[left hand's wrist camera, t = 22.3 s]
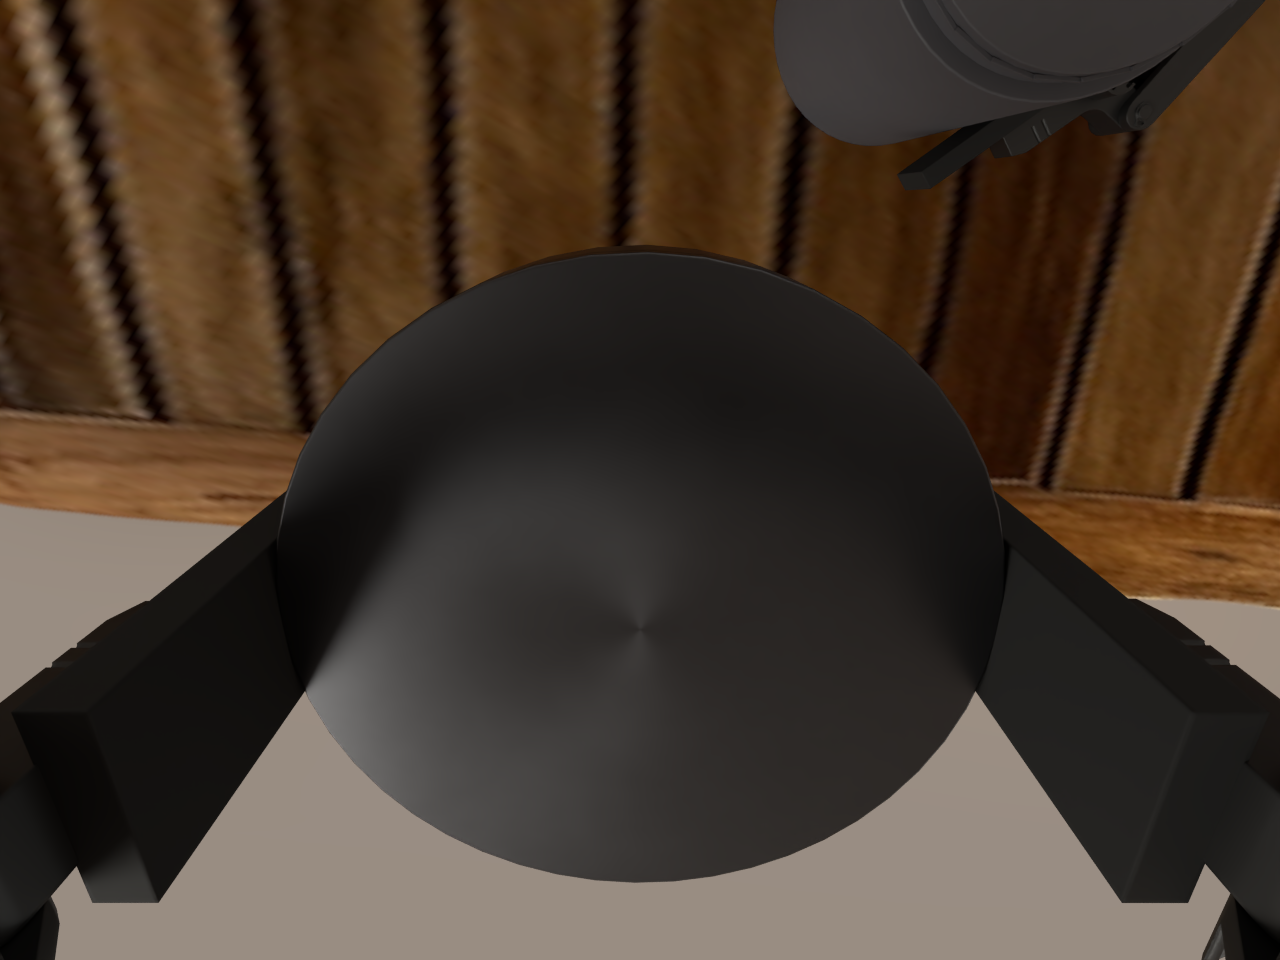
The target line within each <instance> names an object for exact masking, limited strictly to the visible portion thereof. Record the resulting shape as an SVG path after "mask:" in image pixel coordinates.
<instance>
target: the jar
mask: <svg viewBox="0 0 1280 960" xmlns="http://www.w3.org/2000/svg"><path fill="white" fill-rule="evenodd" d="M1236 1H1237V0H777V2H776V8H775V16H774V45H775V53H776V58H777V64H778V67H779V71H780V74H781V77H782V80H783V82H784V85H785V87H786V89H787V91H788V93H789V95H790V97H791V98H792V100H793V102H794V103H795V105H796V106H797V108H798V109H799V110H800V111H801V112H802V114H803V115H804V116H805V117H806V118H807V119H808V120H809V121H810V122H811V123H812V124H814V125H815V126H816V127H817V128H819V129H820V130H822V131H823V132H825V133H826V134H828V135H830V136H832V137H834V138H836V139H839V140H841V141H845V142H848V143H852V144H858V145H865V146H880V145H887V144H893V143H898V142H902V141H906V140H910V139H914V138H919V137H923V136H927V135H931V134H935V133H940V132H944V131H948V130H952V129H956V128H961V127H965V126H969V125H973V124H977V123H982V122H986V121H990V120H994V119H998V118H1003V117H1007V116H1011V115H1015V114H1019V113H1024V112H1028V111H1032V110H1036V109H1040V108H1045V107H1049V106H1053V105H1057V104H1061V103H1066V102H1070V101H1074V100H1078V99H1082V98H1085V97H1089V96H1092V95H1095V94H1099V93H1102V92H1105V91H1108V90H1110V89H1112V88H1114V87H1117V86H1119V85H1121V84H1124V83H1126V82H1128V81H1130V80H1132V79H1134V78H1135V77H1137V76H1139V75H1140V74H1142V73H1144V72H1146V71H1147V70H1149V69H1151V68H1152V67H1154V66H1155V65H1157V64H1158V63H1160V62H1161V61H1162V60H1164V59H1165V58H1166V57H1168V56H1169V55H1170V54H1172V53H1173V52H1174V51H1176V50H1177V49H1178V48H1179V47H1181V46H1184V45H1185V44H1186V43H1187V42H1189V41H1190V40H1191V39H1192V38H1193V37H1195V36H1196V35H1197V34H1198V33H1199V32H1201V31H1202V30H1203V29H1204V28H1205V27H1207V26H1208V25H1209V24H1210V23H1211V22H1212V21H1214V20H1215V19H1216V18H1217V17H1218V16H1220V15H1221V14H1222V13H1223V12H1224V11H1226V10H1227V9H1228V8H1230V7H1232V6H1233V5H1234V4H1235V3H1236Z"/></svg>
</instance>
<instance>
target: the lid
mask: <svg viewBox="0 0 1280 960" xmlns="http://www.w3.org/2000/svg"><path fill="white" fill-rule="evenodd" d="M1004 566H1005V550H1004V543H1003V536H1002V528H1001V521H1000V514H999V507H998V504H997V501H996V498H995V494H994V491H993V488H992V484H991V481H990V478H989V474H988V471H987V468H986V465H985V463H984V461H983V459H982V457H981V455H980V453H979V451H978V448H977V446H976V444H975V442H974V440H973V438H972V436H971V434H970V432H969V430H968V428H967V426H966V424H965V422H964V421H963V420H962V418H961V417H960V415H959V414H958V412H957V411H956V410H955V408H954V407H953V405H952V404H951V402H950V401H949V400H948V398H947V397H946V395H945V394H944V392H943V391H942V389H941V388H940V387H939V385H938V384H937V383H936V382H935V381H934V380H933V379H932V378H931V377H930V376H929V375H928V373H927V372H926V371H925V370H924V369H923V368H922V367H921V366H920V365H919V364H918V363H917V362H916V361H915V360H914V359H913V358H912V357H911V356H910V355H909V354H908V353H907V352H906V350H905V349H904V348H902V347H901V346H900V345H899V344H897V343H896V342H895V341H893V340H892V339H891V338H889V337H888V336H887V335H886V334H884V333H883V332H882V331H880V330H879V329H878V328H876V327H875V326H874V325H873V324H871V323H870V322H869V321H867V320H866V319H865V318H864V317H862V316H861V315H859V314H857V313H855V312H853V311H852V310H850V309H848V308H846V307H845V306H843V305H841V304H839V303H837V302H836V301H834V300H832V299H830V298H828V297H827V296H825V295H823V294H821V293H820V292H818V291H816V290H814V289H812V288H810V287H808V286H806V285H804V284H802V283H799V282H797V281H795V280H793V279H791V278H789V277H786V276H784V275H781V274H779V273H776V272H773V271H771V270H768V269H766V268H763V267H760V266H758V265H755V264H753V263H750V262H747V261H745V260H741V259H736V258H732V257H728V256H723V255H719V254H715V253H710V252H706V251H702V250H697V249H688V248H677V247H665V246H654V245H635V246H615V247H597V248H592V249H587V250H581V251H576V252H571V253H566V254H560V255H555V256H550V257H547V258H544V259H541V260H538V261H535V262H532V263H529V264H526V265H523V266H520V267H517V268H514V269H512V270H509V271H506V272H503V273H501V274H499V275H497V276H495V277H492V278H490V279H488V280H486V281H484V282H482V283H480V284H478V285H476V286H474V287H472V288H470V289H468V290H466V291H464V292H462V293H460V294H458V295H456V296H454V297H452V298H450V299H449V300H447V301H445V302H443V303H441V304H439V305H437V306H435V307H433V308H431V309H430V310H428V311H427V312H425V313H424V314H423V315H421V316H420V317H418V318H417V319H415V320H414V321H413V322H411V323H410V324H408V325H407V326H406V327H404V328H403V329H401V330H400V331H399V332H397V333H396V334H394V335H393V336H391V337H390V338H389V339H387V340H386V341H385V342H384V343H383V344H382V345H381V346H380V347H379V348H378V349H377V350H376V351H375V352H374V353H373V354H372V355H371V356H370V357H369V358H368V359H367V360H366V361H365V362H364V363H363V364H361V365H360V366H359V367H358V368H357V369H356V370H355V371H354V372H353V373H352V374H351V375H350V377H349V378H348V379H347V381H346V382H345V383H344V385H343V386H342V387H341V389H340V390H339V391H338V392H337V394H336V395H335V396H334V398H333V399H332V400H331V402H330V403H329V404H328V406H327V407H326V408H325V410H324V411H323V412H322V414H321V415H320V417H319V419H318V421H317V423H316V425H315V427H314V428H313V430H312V432H311V434H310V436H309V438H308V440H307V441H306V443H305V445H304V447H303V449H302V451H301V453H300V454H299V457H298V460H297V463H296V466H295V469H294V472H293V474H292V477H291V480H290V483H289V486H288V489H287V492H286V495H285V498H284V504H283V509H282V515H281V520H280V526H279V531H278V537H277V558H276V587H277V594H278V602H279V609H280V614H281V619H282V624H283V628H284V632H285V636H286V640H287V644H288V648H289V652H290V655H291V659H292V662H293V665H294V667H295V669H296V671H297V674H298V676H299V678H300V680H301V683H302V685H303V687H304V689H305V692H306V694H307V696H308V698H309V700H310V702H311V703H312V705H313V707H314V708H315V710H316V711H317V713H318V715H319V716H320V718H321V719H322V721H323V723H324V724H325V726H326V728H327V729H328V731H329V732H330V734H331V735H332V736H333V737H334V739H335V740H336V741H337V742H338V744H339V745H340V746H341V747H342V748H343V750H344V751H345V752H346V753H347V755H348V756H349V757H350V758H351V760H352V761H353V762H354V763H355V764H356V765H357V766H358V767H359V768H360V769H361V770H362V771H363V772H364V773H365V774H366V775H367V776H368V777H369V778H370V779H371V780H372V781H373V782H374V783H375V784H376V785H377V786H379V787H380V788H381V789H382V790H383V791H384V792H385V793H387V794H388V795H389V796H390V797H392V798H393V799H394V800H396V801H397V802H398V803H400V804H401V805H402V806H403V807H405V808H406V809H407V810H409V811H410V812H411V813H412V814H414V815H416V816H417V817H419V818H420V819H422V820H424V821H425V822H427V823H429V824H430V825H432V826H434V827H435V828H437V829H438V830H440V831H442V832H443V833H445V834H447V835H449V836H451V837H453V838H455V839H457V840H459V841H461V842H463V843H465V844H468V845H470V846H472V847H474V848H476V849H478V850H480V851H482V852H485V853H488V854H491V855H493V856H496V857H499V858H502V859H505V860H507V861H510V862H513V863H516V864H519V865H523V866H526V867H530V868H534V869H538V870H542V871H546V872H550V873H554V874H559V875H565V876H572V877H578V878H584V879H591V880H600V881H616V882H633V883H638V882H668V881H680V880H688V879H696V878H704V877H712V876H717V875H721V874H726V873H730V872H734V871H739V870H743V869H748V868H752V867H755V866H758V865H761V864H764V863H767V862H770V861H773V860H776V859H780V858H783V857H786V856H788V855H791V854H793V853H795V852H798V851H800V850H802V849H804V848H807V847H809V846H811V845H813V844H816V843H818V842H820V841H823V840H825V839H826V838H828V837H830V836H832V835H833V834H835V833H837V832H839V831H840V830H842V829H844V828H846V827H847V826H849V825H851V824H853V823H854V822H856V821H858V820H859V819H861V818H862V817H864V816H865V815H866V814H868V813H869V812H870V811H872V810H873V809H875V808H876V807H877V806H879V805H880V804H882V803H883V802H884V801H886V800H887V799H888V798H890V797H891V796H892V795H893V794H894V793H895V792H896V791H898V790H899V789H900V788H901V787H902V786H903V785H904V784H905V783H906V782H908V781H909V780H910V779H911V778H912V777H913V776H914V775H915V774H916V773H917V772H918V771H919V770H920V769H921V768H922V767H923V766H924V765H925V764H926V762H927V761H928V760H929V759H930V758H931V757H932V755H933V754H934V753H935V752H936V751H937V750H938V749H939V747H940V746H941V745H942V744H943V743H944V742H945V740H946V739H947V737H948V736H949V734H950V733H951V731H952V730H953V728H954V727H955V725H956V724H957V722H958V721H959V719H960V718H961V716H962V715H963V713H964V712H965V710H966V709H967V707H968V705H969V703H970V701H971V699H972V697H973V695H974V693H975V691H976V689H977V687H978V685H979V683H980V681H981V679H982V676H983V674H984V672H985V669H986V666H987V663H988V660H989V657H990V654H991V651H992V648H993V644H994V640H995V636H996V631H997V627H998V622H999V617H1000V613H1001V608H1002V602H1003V597H1004Z"/></svg>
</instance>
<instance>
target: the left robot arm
mask: <svg viewBox="0 0 1280 960" xmlns="http://www.w3.org/2000/svg"><path fill="white" fill-rule="evenodd" d="M993 491H994V490H993ZM286 492H287V491H286ZM286 492H284V493H283V494H282V495H281V496H279V497H278V498H277V499H276V500H274V501H273V502H272V503H271V504H269V505H268V506H267V507H266V508H265V509H263V510H262V511H261V512H260V513H258V514H257V515H256V516H255V517H253V518H252V519H251V520H250V521H248V522H247V523H246V524H245V525H243V526H242V527H241V528H240V529H238V530H237V531H236V532H235V533H233V534H232V535H231V536H230V537H228V538H227V539H226V540H225V541H223V542H222V543H221V544H220V545H219V546H217V547H216V548H215V549H214V550H212V551H211V552H210V553H209V554H207V555H206V556H205V557H204V558H202V559H201V560H200V561H199V562H197V563H196V564H195V565H194V566H192V567H191V568H190V569H189V570H187V571H186V572H185V573H184V574H182V575H181V576H180V577H179V578H178V579H176V580H175V581H174V582H172V583H171V584H170V585H169V586H168V587H166V588H165V589H164V590H162V591H161V592H160V593H159V594H158V595H156V596H155V597H154V598H153V599H151V600H150V601H145V602H142V603H140V604H139V605H136V606H134V607H132V608H130V609H128V610H126V611H124V612H122V613H120V614H118V615H116V616H114V617H112V618H110V619H109V620H107V621H105V622H104V623H103V624H101V625H100V626H99V627H97V628H96V629H95V630H94V631H92V632H91V633H90V634H88V635H87V636H86V637H85V638H83V639H82V640H81V641H79V642H78V643H77V647H76V648H70V649H69V650H68V651H66V652H65V653H64V654H63V655H61V656H60V657H59V658H57V659H56V660H55V661H54V662H52V667H51V668H45V669H43V670H42V671H41V672H39V673H38V674H37V675H36V676H34V677H33V678H32V679H30V680H29V681H28V682H27V683H25V684H24V685H23V686H21V687H20V688H19V689H17V690H16V691H15V692H14V693H12V694H11V695H10V696H8V697H7V698H6V699H5V700H3V701H2V702H1V703H0V960H55V954H56V946H57V939H58V932H59V924H60V923H59V918H58V913H57V909H56V907H55V904H54V902H53V900H52V898H51V895H52V894H53V893H54V892H55V891H56V890H57V888H58V887H59V886H60V885H61V884H62V882H63V881H64V880H65V879H66V878H67V877H68V875H69V874H70V873H71V872H72V871H73V870H74V868H75V867H76V866H77V868H78V870H79V872H80V875H81V877H82V879H83V882H84V884H85V886H86V889H87V891H88V893H89V896H90V898H91V900H92V903H159V901H160V900H161V898H162V897H163V895H164V894H165V893H166V891H167V890H168V888H169V887H170V885H171V884H172V882H173V881H174V880H175V878H176V877H177V875H178V874H179V872H180V871H181V869H182V868H183V867H184V865H185V864H186V862H187V861H188V859H189V858H190V856H191V855H192V854H193V852H194V851H195V849H196V848H197V846H198V845H199V843H200V842H201V841H202V839H203V838H204V836H205V835H206V833H207V832H208V830H209V829H210V828H211V826H212V825H213V823H214V822H215V820H216V819H217V817H218V816H219V814H220V813H221V811H222V810H223V809H224V807H225V806H226V804H227V803H228V801H229V800H230V799H231V797H232V796H233V794H234V793H235V791H236V790H237V788H238V787H239V786H240V784H241V783H242V781H243V780H244V778H245V777H246V775H247V774H248V773H249V771H250V770H251V768H252V767H253V765H254V764H255V762H256V761H257V759H258V758H259V757H260V755H261V754H262V752H263V751H264V749H265V748H266V747H267V745H268V744H269V742H270V741H271V739H272V738H273V736H274V735H275V734H276V732H277V731H278V729H279V728H280V726H281V725H282V723H283V722H284V720H285V719H286V718H287V716H288V715H289V713H290V712H291V710H292V709H293V707H294V706H295V705H296V703H297V702H298V700H299V699H300V697H301V696H302V695H303V693H304V692H305V689H304V687H303V685H302V683H301V680H300V678H299V676H298V674H297V671H296V669H295V667H294V665H293V662H292V659H291V655H290V652H289V648H288V644H287V640H286V636H285V632H284V628H283V624H282V619H281V614H280V609H279V602H278V594H277V587H276V558H277V537H278V531H279V526H280V520H281V515H282V509H283V504H284V498H285V495H286ZM994 494H995V498H996V501H997V504H998V507H999V514H1000V521H1001V528H1002V536H1003V543H1004V550H1005V566H1004V597H1003V602H1002V608H1001V613H1000V617H999V622H998V627H997V631H996V636H995V640H994V644H993V648H992V651H991V654H990V657H989V660H988V663H987V666H986V669H985V672H984V674H983V676H982V679H981V681H980V683H979V685H978V687H977V689H976V692H977V694H978V695H979V697H980V698H981V700H982V701H983V703H984V704H985V705H986V707H987V708H988V710H989V711H990V713H991V714H992V716H993V717H994V718H995V720H996V721H997V723H998V724H999V726H1000V727H1001V729H1002V730H1003V731H1004V733H1005V734H1006V736H1007V737H1008V739H1009V740H1010V741H1011V743H1012V744H1013V746H1014V747H1015V749H1016V750H1017V752H1018V753H1019V755H1020V756H1021V757H1022V759H1023V760H1024V762H1025V763H1026V765H1027V766H1028V768H1029V769H1030V770H1031V772H1032V773H1033V775H1034V776H1035V778H1036V779H1037V781H1038V782H1039V783H1040V785H1041V786H1042V788H1043V789H1044V791H1045V792H1046V794H1047V795H1048V796H1049V798H1050V799H1051V801H1052V802H1053V804H1054V805H1055V807H1056V808H1057V809H1058V811H1059V812H1060V814H1061V815H1062V817H1063V818H1064V820H1065V821H1066V823H1067V824H1068V825H1069V827H1070V828H1071V830H1072V831H1073V833H1074V834H1075V836H1076V837H1077V838H1078V840H1079V841H1080V843H1081V844H1082V846H1083V847H1084V849H1085V850H1086V851H1087V853H1088V854H1089V856H1090V857H1091V859H1092V860H1093V862H1094V863H1095V864H1096V866H1097V867H1098V869H1099V870H1100V872H1101V873H1102V874H1103V876H1104V877H1105V879H1106V880H1107V882H1108V883H1109V884H1110V886H1111V888H1112V889H1113V890H1114V892H1115V893H1116V895H1117V896H1118V898H1119V899H1120V901H1121V902H1122V903H1188V902H1189V900H1190V897H1191V895H1192V892H1193V890H1194V888H1195V886H1196V883H1197V881H1198V879H1199V876H1200V874H1201V872H1202V869H1203V867H1204V865H1205V864H1206V865H1207V866H1208V867H1209V869H1210V870H1211V871H1212V872H1213V873H1214V874H1215V876H1216V877H1217V878H1218V879H1219V880H1220V881H1221V883H1222V884H1223V885H1224V886H1225V887H1226V888H1227V890H1228V891H1229V892H1230V896H1229V898H1228V900H1227V902H1226V904H1225V907H1224V909H1223V911H1222V913H1221V915H1220V917H1219V920H1218V922H1217V924H1216V926H1215V928H1214V930H1213V933H1212V935H1211V937H1210V939H1209V941H1208V944H1207V946H1206V948H1205V950H1204V952H1203V955H1202V960H1219V959H1220V958H1223V957H1225V959H1226V960H1280V699H1279V698H1278V697H1277V696H1276V695H1274V694H1273V693H1272V692H1270V691H1269V690H1268V689H1266V688H1265V687H1264V686H1263V685H1261V684H1260V683H1259V682H1257V681H1256V680H1255V679H1253V678H1252V677H1251V676H1250V675H1248V674H1247V673H1246V672H1244V671H1243V670H1242V669H1240V668H1239V667H1238V666H1236V665H1230V663H1229V659H1227V658H1226V657H1225V656H1224V655H1222V654H1221V653H1220V652H1218V651H1217V650H1216V649H1214V648H1213V647H1212V646H1210V645H1205V643H1204V642H1205V641H1204V640H1203V639H1201V638H1200V637H1199V636H1198V635H1196V634H1195V633H1194V632H1192V631H1191V630H1190V629H1188V628H1187V627H1186V626H1185V625H1183V624H1182V623H1181V622H1179V621H1178V620H1177V619H1175V618H1174V617H1172V616H1170V615H1168V614H1166V613H1164V612H1162V611H1160V610H1158V609H1156V608H1154V607H1152V606H1150V605H1147V604H1146V603H1144V602H1142V601H1140V600H1138V599H1128V598H1127V597H1125V596H1124V595H1123V594H1122V593H1121V592H1119V591H1118V590H1117V589H1116V588H1114V587H1113V586H1112V585H1111V584H1109V583H1108V582H1107V581H1106V580H1104V579H1103V578H1102V577H1101V576H1099V575H1098V574H1097V573H1096V572H1094V571H1093V570H1092V569H1091V568H1089V567H1088V566H1087V565H1086V564H1084V563H1083V562H1082V561H1081V560H1079V559H1078V558H1077V557H1076V556H1074V555H1073V554H1072V553H1071V552H1069V551H1068V550H1067V549H1066V548H1065V547H1063V546H1062V545H1061V544H1060V543H1058V542H1057V541H1056V540H1055V539H1053V538H1052V537H1051V536H1050V535H1048V534H1047V533H1046V532H1045V531H1043V530H1042V529H1041V528H1040V527H1038V526H1037V525H1036V524H1035V523H1033V522H1032V521H1031V520H1030V519H1028V518H1027V517H1026V516H1025V515H1023V514H1022V513H1021V512H1020V511H1018V510H1017V509H1016V508H1015V507H1013V506H1012V505H1011V504H1010V503H1008V502H1007V501H1006V500H1005V499H1004V498H1002V497H1001V496H1000V495H999V494H997V493H996V492H995V491H994Z"/></svg>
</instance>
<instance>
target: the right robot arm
mask: <svg viewBox="0 0 1280 960" xmlns="http://www.w3.org/2000/svg"><path fill="white" fill-rule="evenodd" d="M1264 1H1265V0H1237V1H1236V3H1235V4H1234V5H1233V6H1232V7H1230V8H1228V9H1227V10H1226V11H1224V12H1223V13H1222V14H1221V15H1220V16H1218V17H1217V18H1216V19H1215V20H1214V21H1212V22H1211V23H1210V24H1209V25H1208V26H1207V27H1205V28H1204V29H1203V30H1202V31H1201V32H1199V33H1198V34H1197V35H1196V36H1195V37H1193V38H1192V39H1191V40H1190V41H1189V42H1187V43H1186V44H1185V45H1184V46H1181V47H1179V48H1178V49H1177V50H1176V51H1174V52H1173V53H1172V54H1170V55H1169V56H1168V57H1166V58H1165V59H1164V60H1162V61H1161V62H1160V63H1158V64H1157V65H1155V66H1154V67H1152V68H1151V69H1149V70H1147V71H1146V72H1144V73H1142V74H1140V75H1139V76H1137V77H1135V78H1134V79H1132V80H1130V81H1128V82H1126V83H1124V84H1121V85H1119V86H1117V87H1114V88H1112V89H1110V90H1108V91H1105V92H1102V93H1099V94H1095V95H1092V96H1089V97H1085V98H1082V99H1078V100H1074V101H1070V102H1066V103H1061V104H1057V105H1053V106H1049V107H1045V108H1040V109H1036V110H1032V111H1028V112H1024V113H1019V114H1015V115H1011V116H1007V117H1003V118H998V119H994V120H990V121H986V122H982V123H977V124H973V125H969V126H965V127H963V128H961V129H960V130H959V131H957V132H956V133H954V134H953V135H952V136H950V137H949V138H947V139H946V140H945V141H943V142H942V143H940V144H939V145H938V146H936V147H935V148H933V149H932V150H931V151H929V152H928V153H926V154H925V155H924V156H922V157H921V158H919V159H918V160H917V161H915V162H914V163H912V164H911V165H910V166H908V167H907V168H905V169H904V170H903V171H901V172H900V173H899V174H897V175H898V177H899V179H900V181H901V183H902V185H903V187H904V189H905V190H916V189H931V188H932V187H933V186H935V185H936V184H938V183H939V182H941V181H942V180H943V179H945V178H946V177H948V176H949V175H950V174H952V173H953V172H955V171H956V170H958V169H959V168H960V167H962V166H963V165H965V164H966V163H968V162H969V161H970V160H972V159H973V158H975V157H976V156H978V155H979V154H980V153H982V152H983V151H985V150H986V149H987V148H989V147H990V149H991V152H992V154H993V156H994V158H1001V157H1009V156H1014V155H1018V154H1022V153H1026V152H1027V151H1029V150H1030V149H1032V148H1033V147H1034V146H1036V145H1037V144H1038V143H1040V142H1042V141H1043V140H1045V139H1046V138H1047V137H1048V136H1050V135H1052V134H1053V133H1055V132H1056V131H1058V130H1059V129H1060V128H1062V127H1063V126H1065V125H1066V124H1068V123H1069V122H1071V121H1072V120H1073V119H1075V118H1076V117H1078V116H1079V115H1081V116H1082V117H1084V118H1085V119H1086V120H1087V121H1088V125H1089V129H1090V131H1091V133H1093V134H1095V135H1098V136H1103V135H1110V134H1116V133H1123V132H1130V131H1137V130H1142V129H1145V128H1147V127H1149V126H1150V125H1151V124H1152V123H1153V122H1154V121H1155V120H1156V119H1157V118H1158V117H1159V116H1160V115H1161V114H1162V113H1163V112H1164V110H1165V109H1166V108H1167V107H1168V106H1169V105H1170V104H1171V103H1172V102H1173V101H1174V100H1175V98H1176V97H1177V96H1178V95H1179V94H1180V93H1181V92H1182V91H1183V90H1184V89H1185V88H1186V86H1187V85H1188V84H1189V83H1190V82H1191V81H1192V80H1193V79H1194V78H1195V77H1196V75H1197V74H1198V73H1199V72H1200V71H1201V70H1202V69H1203V68H1204V67H1205V66H1206V65H1207V63H1208V62H1209V61H1210V60H1211V59H1212V58H1213V57H1214V56H1215V55H1216V54H1217V53H1218V51H1219V50H1220V49H1221V48H1222V47H1223V46H1224V45H1225V44H1226V43H1227V42H1228V41H1229V39H1230V38H1231V37H1232V36H1233V35H1234V34H1235V33H1236V32H1237V31H1238V30H1239V29H1240V27H1241V26H1242V25H1243V24H1244V23H1245V22H1246V21H1247V20H1248V19H1249V18H1250V17H1251V15H1252V14H1253V13H1254V12H1255V11H1256V10H1257V9H1258V8H1259V7H1260V6H1261V5H1262V3H1263V2H1264Z"/></svg>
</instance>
